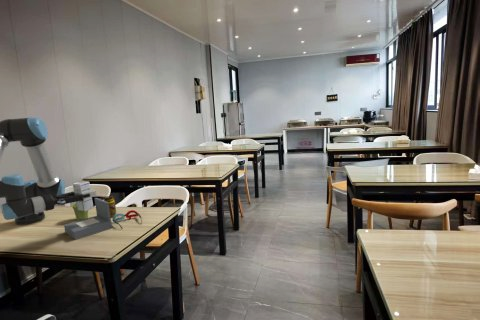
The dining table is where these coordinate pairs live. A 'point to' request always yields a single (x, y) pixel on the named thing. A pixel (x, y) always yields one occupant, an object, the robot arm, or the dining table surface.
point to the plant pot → (80, 213)
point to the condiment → (111, 205)
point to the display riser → (91, 222)
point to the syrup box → (80, 189)
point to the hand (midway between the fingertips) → (92, 192)
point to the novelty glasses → (126, 216)
